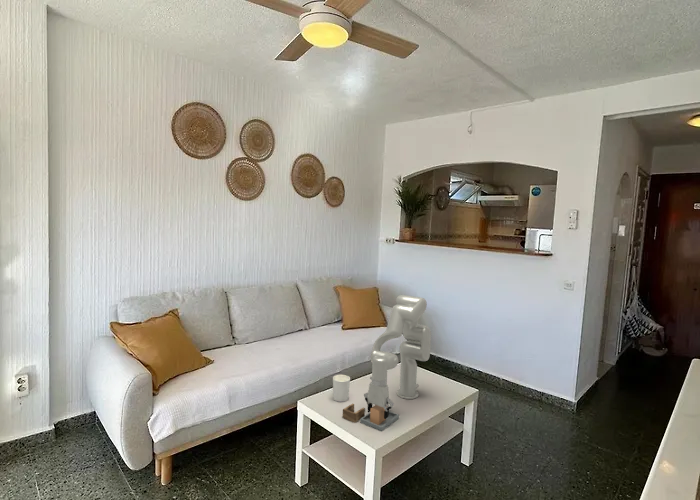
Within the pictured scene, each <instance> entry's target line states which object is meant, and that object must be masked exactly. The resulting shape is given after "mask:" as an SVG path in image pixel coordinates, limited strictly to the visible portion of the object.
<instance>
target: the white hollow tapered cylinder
mask: <svg viewBox="0 0 700 500" xmlns="http://www.w3.org/2000/svg"><path fill="white" fill-rule="evenodd" d="M350 383H351V377H350V376H349V375H345V374H335V375H334V376H332V395H333V397H332V398H333V400H334V401H335V402H338V403H344V402H347V401H348V400H349V392H350Z"/></svg>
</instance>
